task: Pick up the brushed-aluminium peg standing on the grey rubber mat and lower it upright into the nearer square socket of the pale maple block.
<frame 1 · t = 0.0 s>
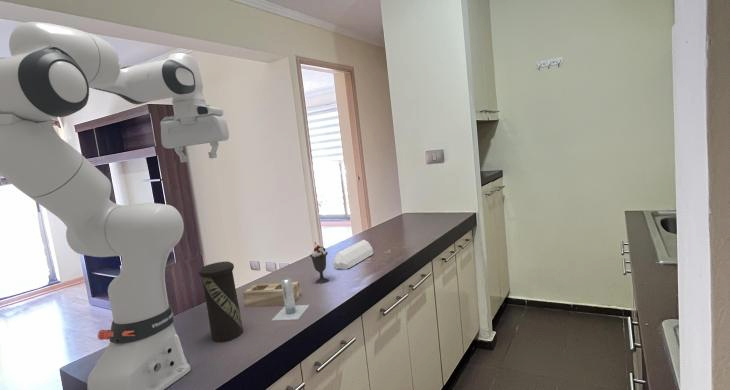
hand: (198, 160, 115), 48 cm above the table, fingers open, 8 cm apart
sundae: (322, 281, 142), on the table
container: (227, 336, 105), on the table
socket block: (273, 301, 126), on the table
mat: (291, 313, 115), on the table
crystal: (354, 262, 163), on the table
peg: (291, 312, 115), resting on mat
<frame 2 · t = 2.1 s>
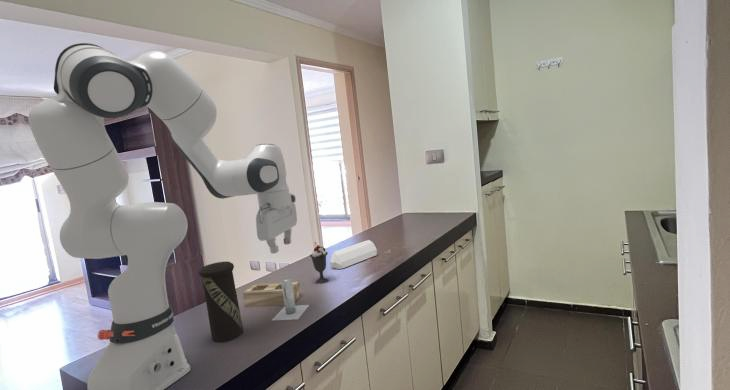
hand: (281, 248, 113), 20 cm above the table, fingers open, 8 cm apart
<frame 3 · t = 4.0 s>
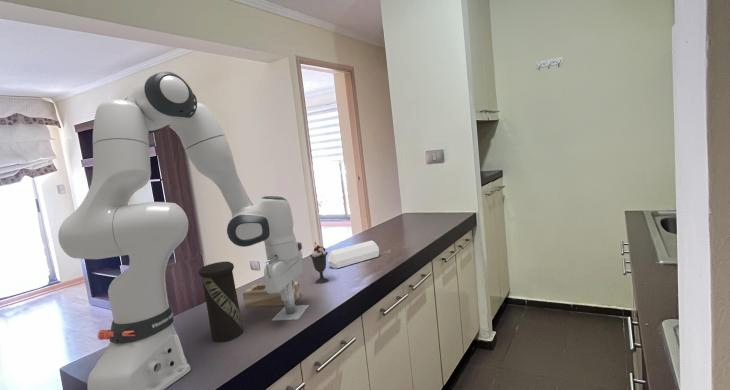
hand: (288, 297, 114), 5 cm above the table, fingers closed on peg, 3 cm apart
peg: (291, 312, 115), resting on mat, touching gripper
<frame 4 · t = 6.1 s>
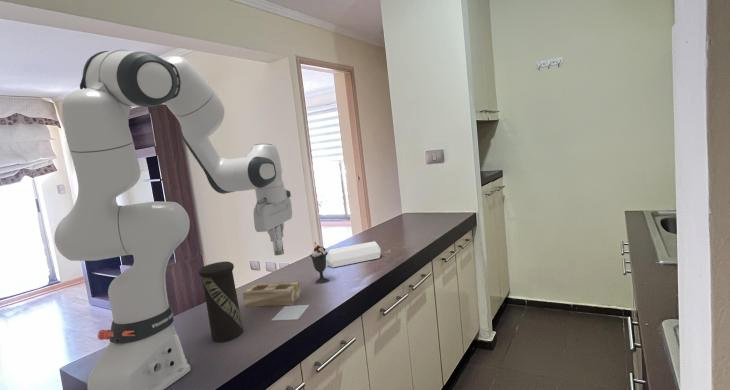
hand: (277, 239, 123), 21 cm above the table, fingers closed on peg, 3 cm apart
peg: (279, 253, 123), point 16 cm above the table, touching gripper
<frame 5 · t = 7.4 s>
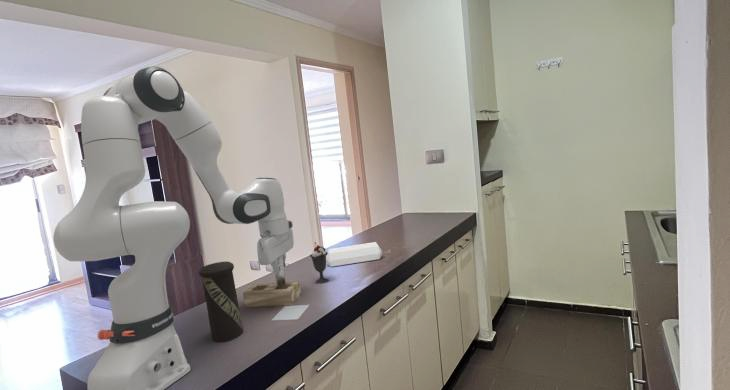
hand: (279, 270, 125), 10 cm above the table, fingers closed on peg, 3 cm apart
peg: (281, 284, 125), point 6 cm above the table, touching gripper
when the fingers open (7 cm above the table, at t = 8.3 s): peg drops 2 cm, resting in socket block.
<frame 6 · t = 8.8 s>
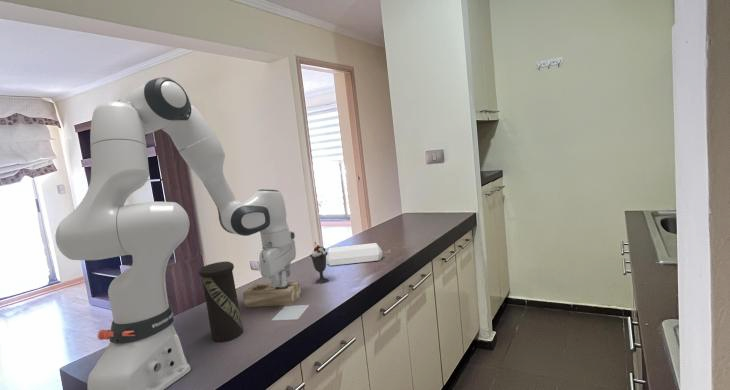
hand: (282, 281, 125), 7 cm above the table, fingers open, 8 cm apart
peg: (284, 301, 125), resting in socket block
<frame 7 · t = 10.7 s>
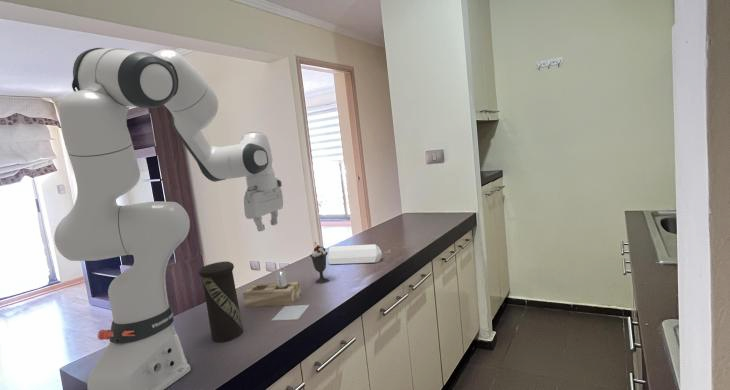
hand: (268, 227, 124), 24 cm above the table, fingers open, 8 cm apart
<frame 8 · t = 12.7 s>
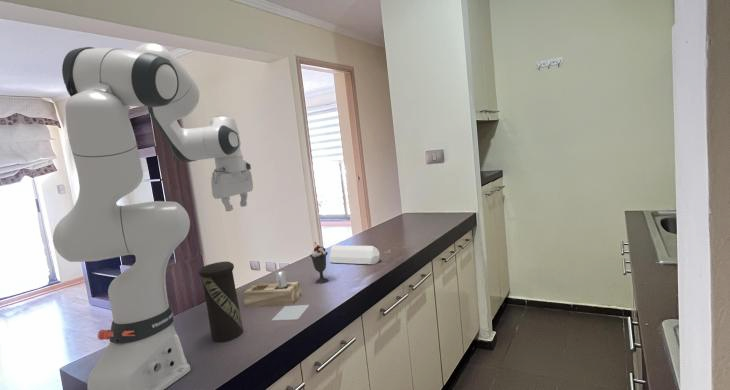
hand: (236, 208, 129), 31 cm above the table, fingers open, 8 cm apart
at the end: peg 0.2 cm from the target spot on the socket block, point 0.0 cm above the socket block's base; peg tilted 1°; the gripper is holding nothing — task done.
